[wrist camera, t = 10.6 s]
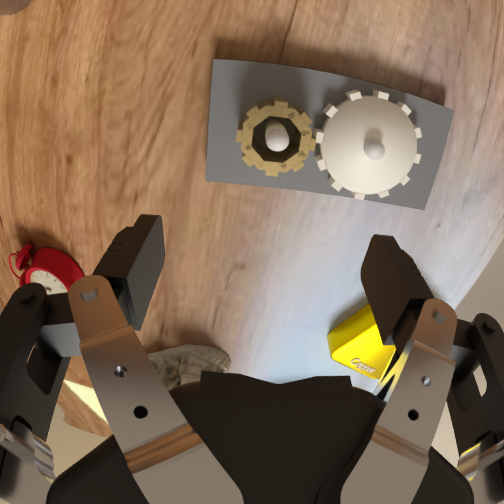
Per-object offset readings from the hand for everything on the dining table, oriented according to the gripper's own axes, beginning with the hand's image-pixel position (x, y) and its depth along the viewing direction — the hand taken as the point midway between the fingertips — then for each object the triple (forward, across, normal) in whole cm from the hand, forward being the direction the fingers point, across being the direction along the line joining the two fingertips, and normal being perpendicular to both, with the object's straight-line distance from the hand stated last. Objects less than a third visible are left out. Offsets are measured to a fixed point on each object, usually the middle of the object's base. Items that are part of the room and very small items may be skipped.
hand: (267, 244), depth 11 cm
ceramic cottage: (+20, +10, +42) cm, 47 cm away
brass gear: (+18, -1, 0) cm, 18 cm away
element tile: (+21, -23, +28) cm, 42 cm away
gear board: (+20, -7, 0) cm, 22 cm away
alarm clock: (+21, +30, +22) cm, 43 cm away
